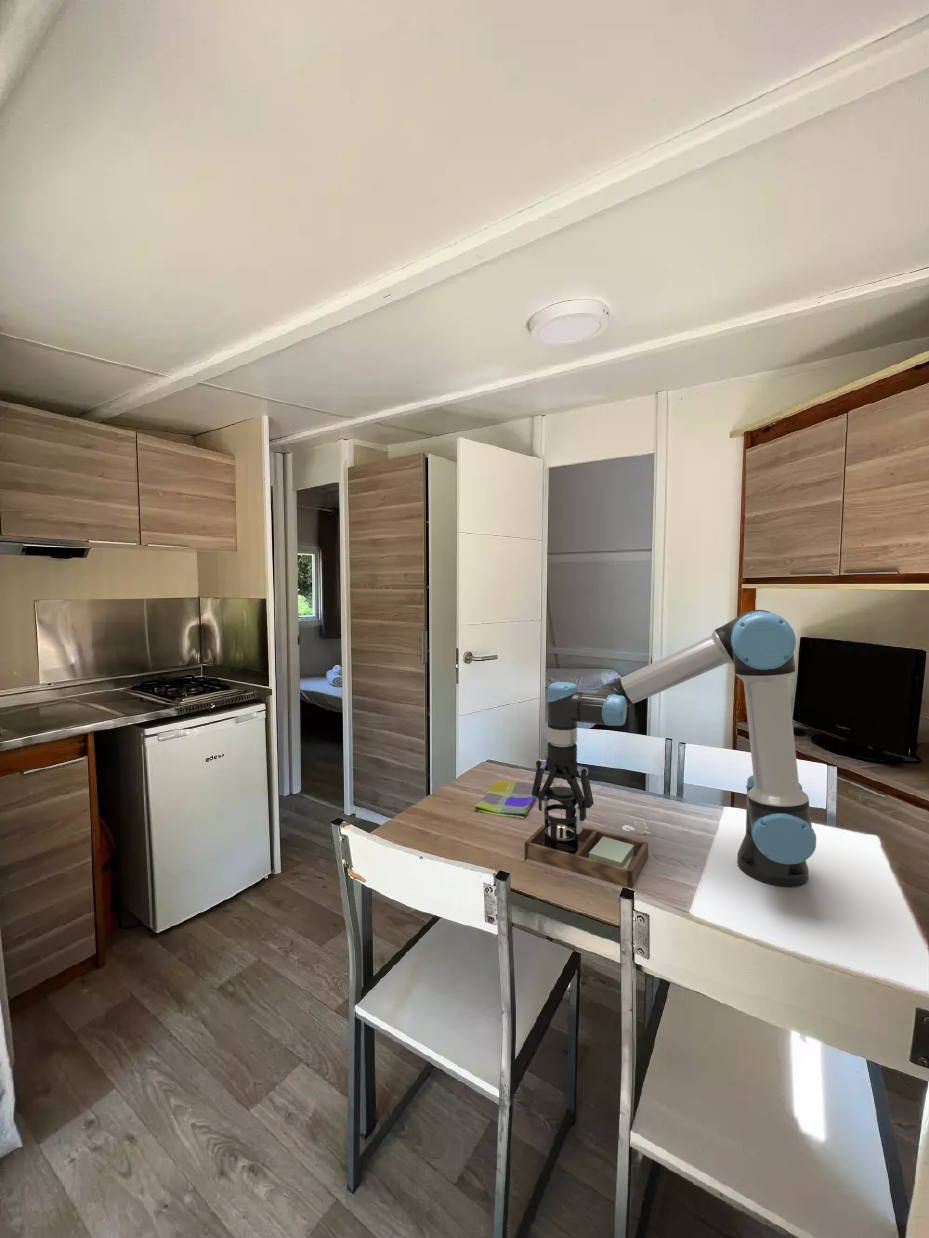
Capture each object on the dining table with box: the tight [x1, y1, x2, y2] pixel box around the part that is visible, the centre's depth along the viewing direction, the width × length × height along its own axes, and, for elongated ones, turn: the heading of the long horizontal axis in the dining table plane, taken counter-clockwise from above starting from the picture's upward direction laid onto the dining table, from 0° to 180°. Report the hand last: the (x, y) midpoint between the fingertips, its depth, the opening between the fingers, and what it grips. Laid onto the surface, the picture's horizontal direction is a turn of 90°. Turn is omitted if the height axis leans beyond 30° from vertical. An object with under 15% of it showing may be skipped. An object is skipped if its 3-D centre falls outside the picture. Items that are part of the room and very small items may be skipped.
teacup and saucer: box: [621, 820, 652, 836], centre depth 149 cm, size 9×8×4 cm
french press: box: [543, 770, 580, 855], centre depth 138 cm, size 12×9×23 cm
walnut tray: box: [524, 820, 649, 889], centre depth 135 cm, size 27×16×5 cm, turn 58°
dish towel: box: [474, 780, 543, 820], centre depth 174 cm, size 18×24×3 cm
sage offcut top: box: [588, 837, 634, 868], centre depth 132 cm, size 8×10×2 cm
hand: (561, 827), depth 138 cm, fingers closed on french press, 9 cm apart
